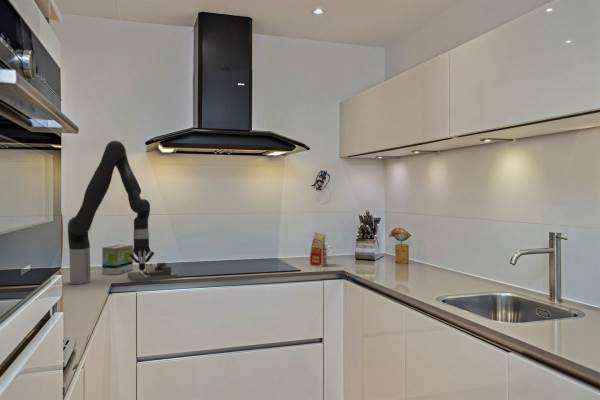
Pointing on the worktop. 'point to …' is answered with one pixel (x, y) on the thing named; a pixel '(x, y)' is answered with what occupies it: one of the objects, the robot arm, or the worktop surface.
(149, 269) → the breaker
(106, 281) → the worktop surface
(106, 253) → the tea box
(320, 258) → the red food bag
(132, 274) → the breaker panel
